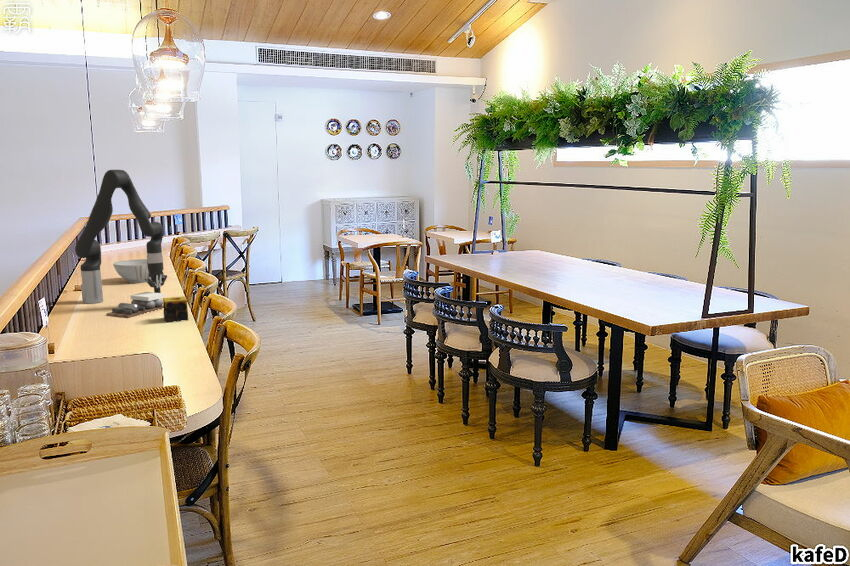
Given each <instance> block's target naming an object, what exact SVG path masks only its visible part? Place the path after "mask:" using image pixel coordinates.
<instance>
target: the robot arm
mask: <svg viewBox="0 0 850 566" xmlns="http://www.w3.org/2000/svg"><path fill="white" fill-rule="evenodd" d="M134 185H135V184H134V183H133V182H132V178H131V177H130V175H129V173H128V172H127V171H126V170H123V169H108V170H107V171H105V172H104V174H103V178H102V182H101V185H100V188H99V192H98V194H97V197H96V200H95V203H94V205H93V207H92V209H91V211H90V213H89V217H88V219H87V222H86V223H85V226H84V229H83V230H82V233H81V235H80V236H79V238H78V239H77V242H76V243H75V247H74V251H75V255H76V256H77V257H78V258H81V259H85V261H84V262H83V263H82V264H81V265H80V277H81V285H80V286H81V287H80V288H81V289H80V290H81V298H82V299H81V301H82V302H83V303H84V304H97V303H102V302H104V296H103V295H104V294H103V284H102V283H103V282H102V274H101V265H102V250H101V249H102V248H101V245H100V243H99V241H98V240H97V239H96V238H97V236H98V235H99V234H100V233H101V232H102V231H103V230H104V229H105V228H106V227H107V225H108V224H109V222H110V220H111V218H112V215H113V211H114V210H113V209H114V208H113V203H112V198H113V195H114V193H115V191H116V189H121V190H122V191H123V192H124V194H125V196H126V197H127V201H128V207H129V210H130V212H131V213H132V215H133V216H134V217H135V219H136V220H137V223H138V225H139V229H140V231H141V233H142V234H143V235H144V236H146V237H147V238H150V240H149V241H147V242H146V245H145V246H146V259H147V267H148V271H149V277H148V278H146V279H145V281H146V282H145V283H147V284H148V286H149V287H150V288H153V293H162V292H161V287H162V286H164V284H165V283H166V280H167V278H168V275H166V274H165V273H164V272H163V271H164V256H163V252H162V251H163V250H162V242H163V239H164V238H163V237H164V227H163V225H162V223H160V222H159V221H154V222H153V221H152V222H151V221H150V219H151V216H152V214H151V212H150V210H149V209H148V208H147V206H146V205H145V203H144V202H143V200H142V199H141V197H140V196H139V193H138V191H137V189H136V187H135V186H134Z"/></svg>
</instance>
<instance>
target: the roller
mask: <svg viewBox="0 0 850 566" xmlns="http://www.w3.org/2000/svg"><path fill="white" fill-rule="evenodd" d="M117 308H118V309H126V310H132V312H135V313H137V312H138V311H139V310H140V307H139V305H137V304H131V303H126V302H119V304H118V306H117Z"/></svg>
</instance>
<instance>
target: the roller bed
mask: <svg viewBox="0 0 850 566" xmlns="http://www.w3.org/2000/svg"><path fill="white" fill-rule="evenodd" d="M130 304H137V305H139V307H140V310H139V311H138V312H137V313H135V312H132V310H126V309H118V307H117V308H115V307H113V308H111V310H112V311H110V312H107V313H106V316H110V317H116V318H124V319H125V318H126V319H129V318H133V317H138V316H141V315H145V314H148V313H147V312H149V313H152V312H151V311H153V312H156V311H155V310H157V311H159V310H158V309H160V310H163V309H162V308H164V306H163V299H162V298H160V299H156V300H151V301H143V300H133V299H131V302H130ZM144 313H145V314H144ZM140 314H141V315H140ZM137 315H138V316H137Z"/></svg>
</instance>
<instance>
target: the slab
mask: <svg viewBox="0 0 850 566" xmlns="http://www.w3.org/2000/svg"><path fill="white" fill-rule="evenodd" d="M163 298H165V294H164V293H162V292H161V293H154V291H153V292H152V291H143V292H139V293H134V294H131V295H130V300H143V301H151V300H156V299H163Z"/></svg>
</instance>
